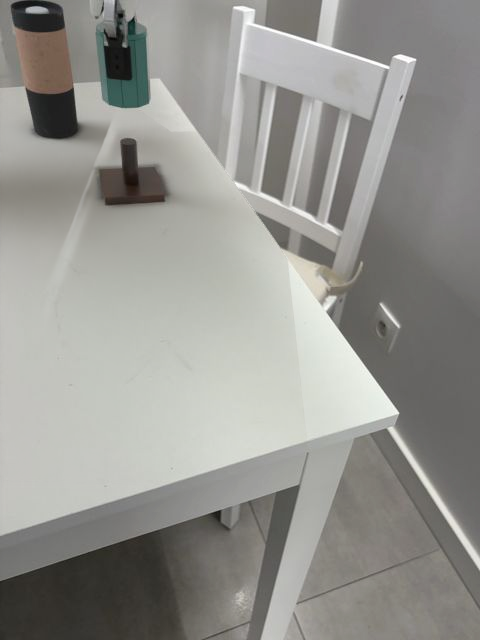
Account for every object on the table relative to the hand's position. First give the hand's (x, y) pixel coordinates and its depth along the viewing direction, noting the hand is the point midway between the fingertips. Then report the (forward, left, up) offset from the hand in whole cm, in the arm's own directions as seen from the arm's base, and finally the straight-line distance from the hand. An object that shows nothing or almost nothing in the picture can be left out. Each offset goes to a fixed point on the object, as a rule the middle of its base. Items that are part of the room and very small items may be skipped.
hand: (124, 67), depth 74 cm
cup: (0, 0, -4) cm, 4 cm away
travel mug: (-15, +16, -18) cm, 29 cm away
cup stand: (0, 0, -18) cm, 18 cm away
